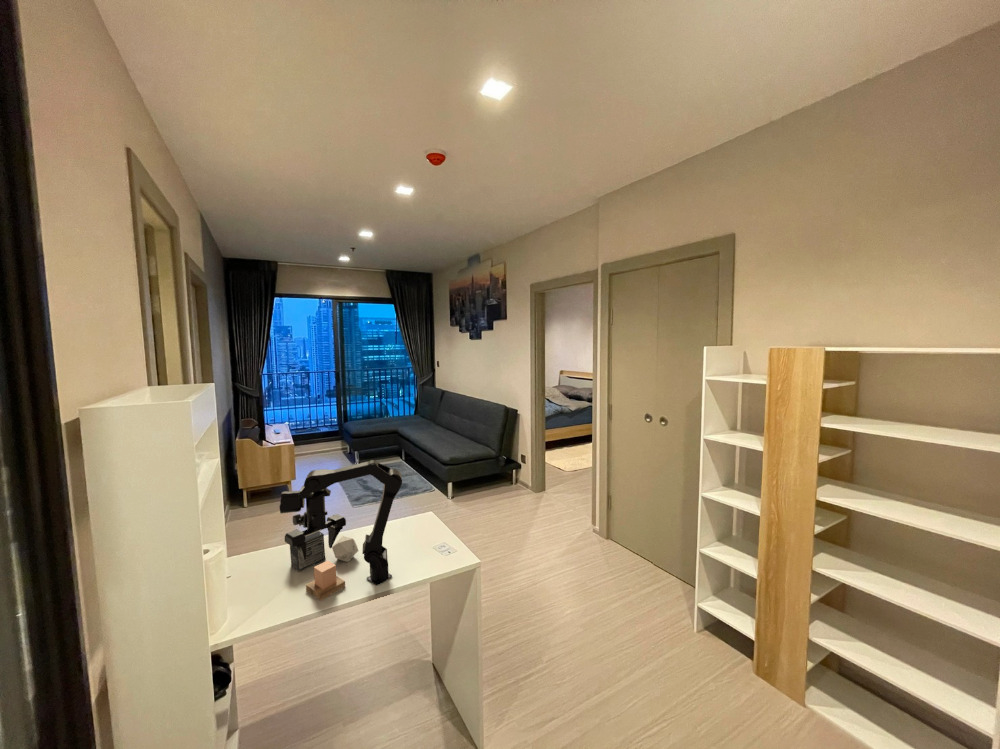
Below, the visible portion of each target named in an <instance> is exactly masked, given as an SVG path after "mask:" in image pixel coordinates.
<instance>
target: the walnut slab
mask: <svg viewBox="0 0 1000 749" xmlns="http://www.w3.org/2000/svg"><path fill="white" fill-rule="evenodd" d="M336 580H337V582H336V583H334V584H332V585H330V586H328V587H326V588H324V589H321V588H320V587H319V586H317V585H316V584H315V579H314V580H312V581H311V582H307V583H306V584H305V590H306V592H308V593H309V594H311V595H312V596H314V597H315V598H316V599H317V600H319V601H322V600H323V601H324V599H326V598H328V597H330V596H332V595H334V594H335V593H337V592H339V591H341V590H342V589H344V588H345V587H346V581H345V580H344V579H342V578H341V577H339V576H338V575H336Z"/></svg>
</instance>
